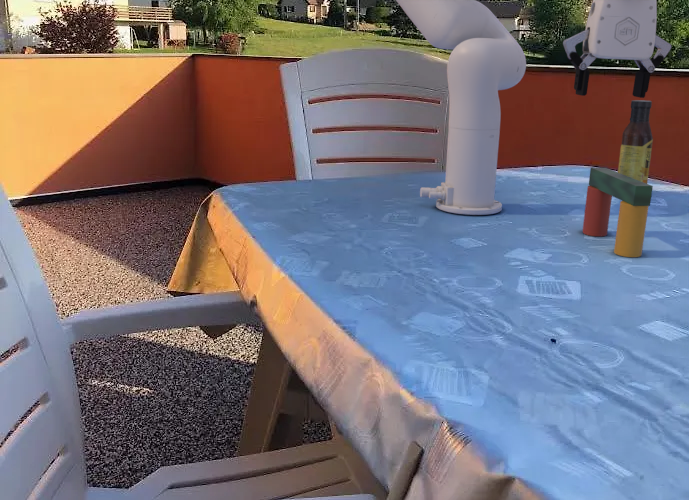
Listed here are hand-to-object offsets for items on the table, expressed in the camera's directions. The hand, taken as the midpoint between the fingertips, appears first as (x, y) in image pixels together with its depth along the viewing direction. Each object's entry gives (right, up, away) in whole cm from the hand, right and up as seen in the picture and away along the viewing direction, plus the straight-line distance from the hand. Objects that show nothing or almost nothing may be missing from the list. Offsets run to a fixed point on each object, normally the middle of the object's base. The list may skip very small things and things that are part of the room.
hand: (609, 95), depth 116 cm
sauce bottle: (+19, -13, +40) cm, 46 cm away
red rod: (-1, -22, +5) cm, 23 cm away
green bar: (0, -16, -3) cm, 17 cm away
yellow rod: (0, -26, -7) cm, 27 cm away
